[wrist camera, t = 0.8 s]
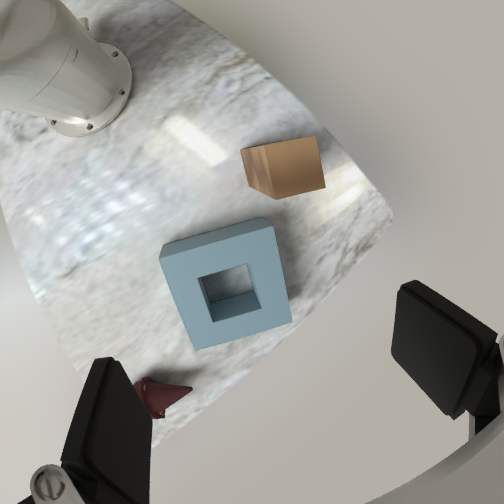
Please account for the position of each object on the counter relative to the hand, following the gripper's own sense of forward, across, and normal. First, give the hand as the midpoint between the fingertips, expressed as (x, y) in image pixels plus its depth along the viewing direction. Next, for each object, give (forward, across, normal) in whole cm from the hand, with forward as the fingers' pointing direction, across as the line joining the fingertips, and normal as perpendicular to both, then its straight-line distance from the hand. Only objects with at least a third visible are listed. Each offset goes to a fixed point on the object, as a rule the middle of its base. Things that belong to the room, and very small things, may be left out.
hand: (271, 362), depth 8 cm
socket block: (+28, 0, +9) cm, 29 cm away
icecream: (+28, +17, +25) cm, 41 cm away
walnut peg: (+28, -7, -4) cm, 29 cm away
